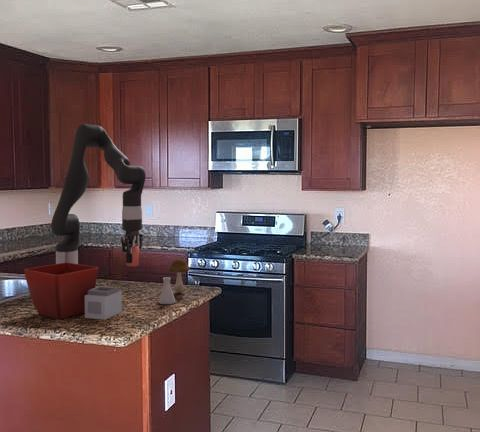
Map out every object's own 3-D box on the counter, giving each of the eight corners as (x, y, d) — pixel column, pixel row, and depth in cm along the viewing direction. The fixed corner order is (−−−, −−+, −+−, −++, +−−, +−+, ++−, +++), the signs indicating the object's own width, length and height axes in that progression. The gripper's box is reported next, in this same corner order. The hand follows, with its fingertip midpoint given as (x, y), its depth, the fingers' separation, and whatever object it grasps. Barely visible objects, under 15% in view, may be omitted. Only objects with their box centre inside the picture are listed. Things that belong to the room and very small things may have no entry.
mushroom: (188, 289, 253) (188, 256, 252) (191, 295, 242) (191, 260, 241) (167, 290, 251) (167, 256, 250) (169, 295, 240) (169, 260, 239)
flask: (155, 301, 230) (155, 277, 229) (173, 300, 232) (173, 276, 232) (159, 305, 223) (159, 280, 222) (178, 304, 226) (177, 279, 225)
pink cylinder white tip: (124, 265, 219) (124, 243, 219) (130, 264, 224) (129, 242, 223) (135, 266, 218) (135, 244, 217) (140, 264, 222) (140, 242, 222)
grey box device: (84, 318, 203) (84, 291, 202) (102, 310, 215) (102, 285, 214) (104, 319, 201) (103, 293, 200) (121, 311, 213) (121, 286, 212)
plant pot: (57, 323, 196) (56, 274, 195) (23, 315, 207) (22, 268, 206) (100, 312, 212) (99, 267, 210) (67, 305, 223) (66, 262, 221)
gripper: (132, 216, 227) (132, 258, 229) (114, 219, 214) (114, 264, 215) (149, 216, 225) (149, 259, 226) (132, 219, 211) (132, 265, 213)
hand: (132, 261), depth 221 cm, fingers closed on pink cylinder white tip, 4 cm apart
